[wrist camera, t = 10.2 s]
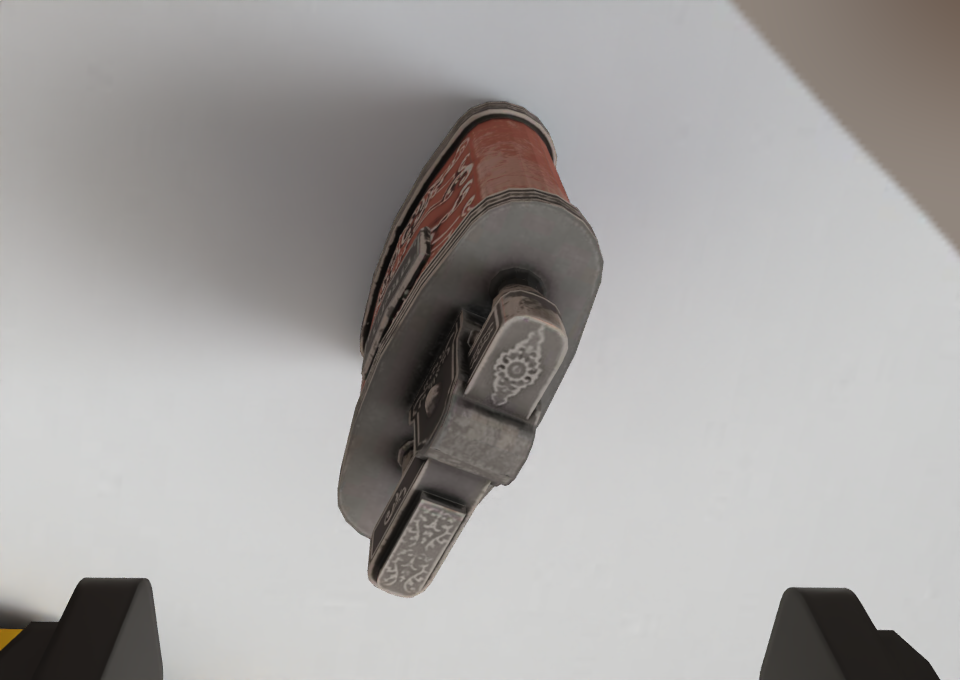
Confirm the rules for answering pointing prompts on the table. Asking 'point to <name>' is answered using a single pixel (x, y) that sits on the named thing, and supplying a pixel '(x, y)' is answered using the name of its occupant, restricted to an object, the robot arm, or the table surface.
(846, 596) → the robot arm
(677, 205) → the table surface
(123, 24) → the table surface
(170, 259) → the table surface
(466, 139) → the lighter
